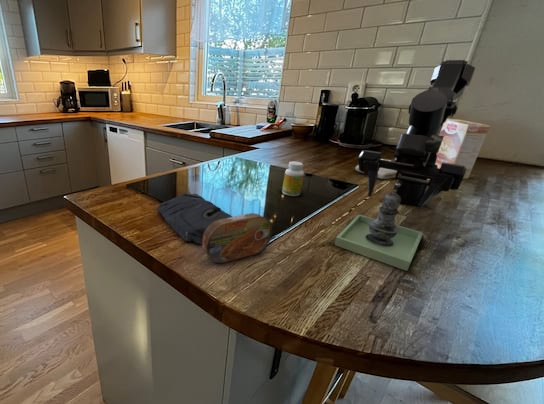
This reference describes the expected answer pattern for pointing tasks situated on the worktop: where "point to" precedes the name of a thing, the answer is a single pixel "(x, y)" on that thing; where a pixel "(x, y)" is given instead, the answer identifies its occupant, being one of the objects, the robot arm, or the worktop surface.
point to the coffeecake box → (461, 143)
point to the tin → (236, 237)
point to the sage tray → (392, 255)
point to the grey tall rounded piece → (385, 221)
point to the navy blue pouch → (191, 215)
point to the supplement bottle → (293, 179)
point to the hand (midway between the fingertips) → (393, 201)
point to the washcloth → (383, 173)
